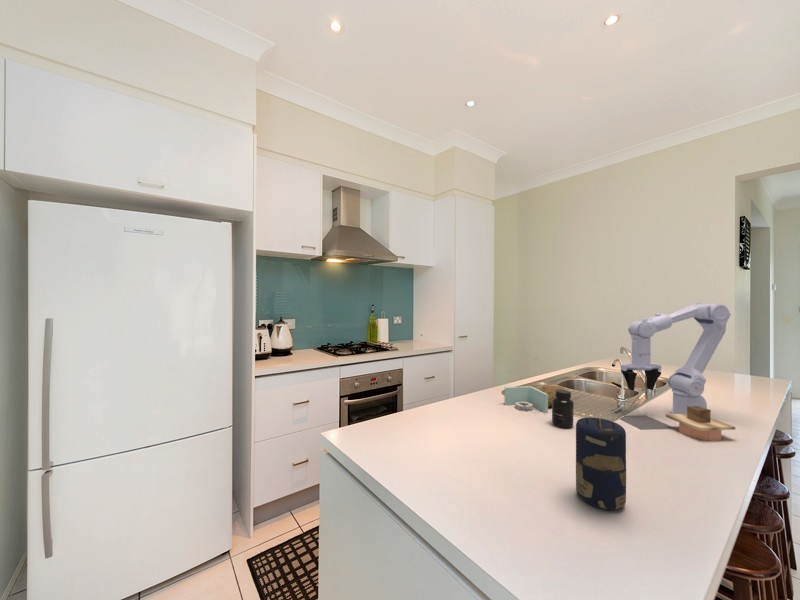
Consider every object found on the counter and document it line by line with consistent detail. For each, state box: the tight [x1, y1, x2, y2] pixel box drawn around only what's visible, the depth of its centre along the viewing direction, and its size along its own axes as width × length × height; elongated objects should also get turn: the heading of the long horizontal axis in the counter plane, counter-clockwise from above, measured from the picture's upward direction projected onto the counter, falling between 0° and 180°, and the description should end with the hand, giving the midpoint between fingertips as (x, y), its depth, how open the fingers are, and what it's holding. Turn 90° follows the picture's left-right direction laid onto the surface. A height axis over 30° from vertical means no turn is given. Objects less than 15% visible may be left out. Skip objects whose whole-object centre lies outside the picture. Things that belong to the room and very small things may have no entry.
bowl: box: [678, 422, 722, 442], centre depth 108 cm, size 10×10×4 cm
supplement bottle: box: [551, 389, 575, 430], centre depth 116 cm, size 7×7×12 cm
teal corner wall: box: [504, 385, 549, 414], centre depth 134 cm, size 12×12×8 cm
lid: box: [665, 406, 736, 431], centre depth 108 cm, size 12×12×5 cm
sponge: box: [538, 385, 567, 408], centre depth 142 cm, size 13×8×20 cm
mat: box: [619, 414, 677, 431], centre depth 118 cm, size 13×13×1 cm
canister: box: [575, 416, 627, 510], centre depth 73 cm, size 10×10×18 cm
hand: (640, 389), depth 124 cm, fingers open, 7 cm apart
